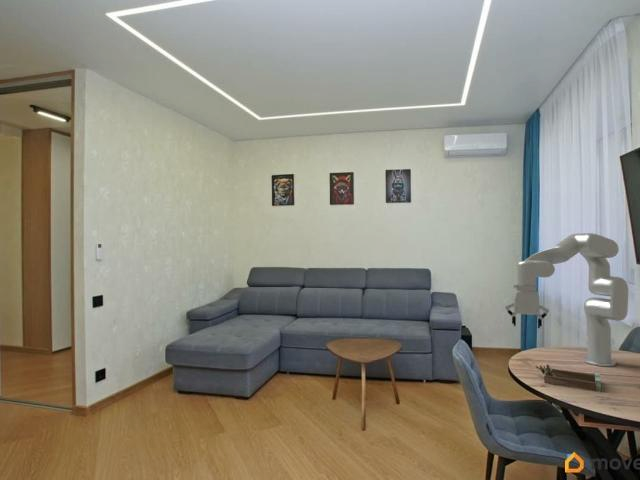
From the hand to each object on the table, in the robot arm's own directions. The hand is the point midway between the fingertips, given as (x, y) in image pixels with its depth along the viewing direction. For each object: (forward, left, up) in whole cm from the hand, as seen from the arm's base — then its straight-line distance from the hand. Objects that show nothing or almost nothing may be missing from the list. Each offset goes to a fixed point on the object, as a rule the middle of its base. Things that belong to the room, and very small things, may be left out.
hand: (526, 326), depth 176 cm
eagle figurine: (+1, +8, -22) cm, 23 cm away
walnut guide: (+1, +16, -22) cm, 27 cm away
